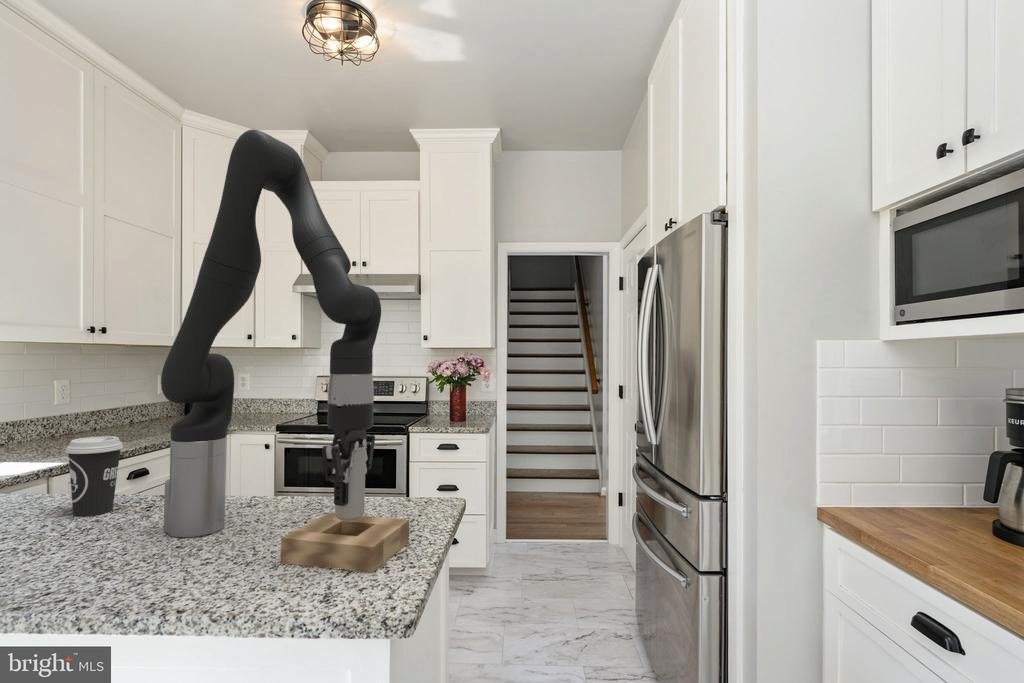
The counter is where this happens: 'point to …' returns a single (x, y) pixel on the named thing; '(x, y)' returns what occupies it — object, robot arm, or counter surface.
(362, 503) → the beverage can
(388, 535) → the socket
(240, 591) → the counter surface
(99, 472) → the coffee cup
